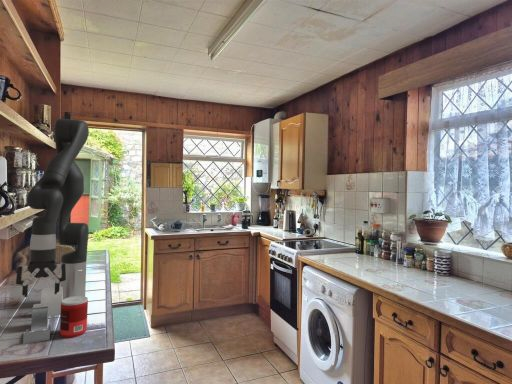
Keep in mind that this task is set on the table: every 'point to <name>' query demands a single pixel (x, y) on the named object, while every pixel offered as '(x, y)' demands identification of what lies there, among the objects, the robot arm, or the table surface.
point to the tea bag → (52, 300)
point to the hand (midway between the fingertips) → (41, 295)
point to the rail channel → (36, 336)
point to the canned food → (73, 316)
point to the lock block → (39, 316)
